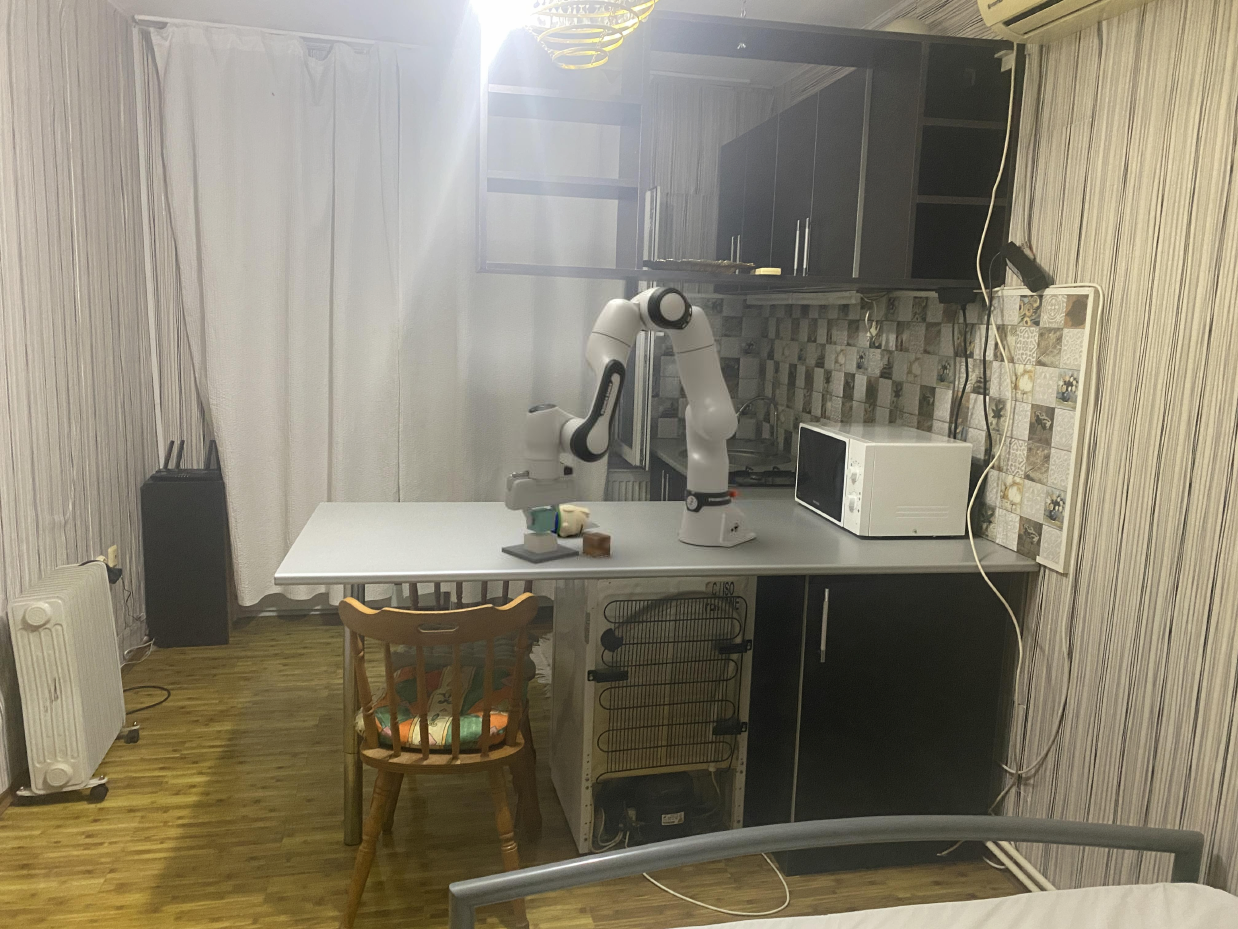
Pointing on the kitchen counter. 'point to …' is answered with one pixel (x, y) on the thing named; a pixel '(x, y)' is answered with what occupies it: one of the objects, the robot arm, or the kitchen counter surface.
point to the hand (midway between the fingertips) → (540, 523)
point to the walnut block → (596, 544)
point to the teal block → (542, 520)
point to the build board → (540, 556)
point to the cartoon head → (572, 520)
